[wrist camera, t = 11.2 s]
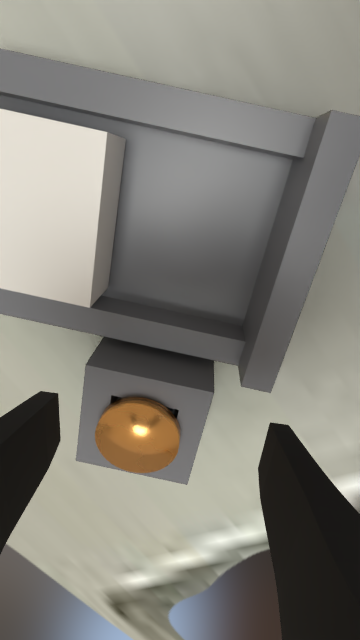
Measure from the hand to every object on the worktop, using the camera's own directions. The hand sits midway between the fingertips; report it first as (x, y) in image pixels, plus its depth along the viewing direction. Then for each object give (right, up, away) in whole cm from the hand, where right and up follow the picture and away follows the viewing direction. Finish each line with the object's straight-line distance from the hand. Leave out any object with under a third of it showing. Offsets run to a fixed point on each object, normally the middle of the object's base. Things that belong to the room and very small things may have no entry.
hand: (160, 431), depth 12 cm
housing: (-2, +6, +9) cm, 11 cm away
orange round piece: (-1, -1, +10) cm, 10 cm away
